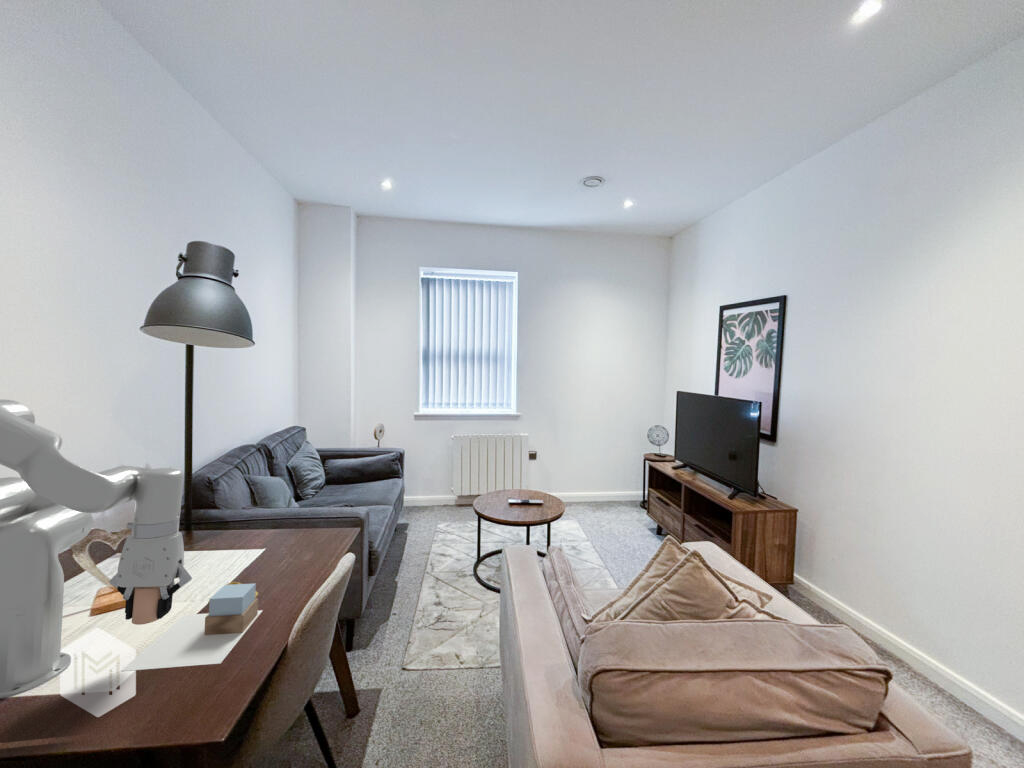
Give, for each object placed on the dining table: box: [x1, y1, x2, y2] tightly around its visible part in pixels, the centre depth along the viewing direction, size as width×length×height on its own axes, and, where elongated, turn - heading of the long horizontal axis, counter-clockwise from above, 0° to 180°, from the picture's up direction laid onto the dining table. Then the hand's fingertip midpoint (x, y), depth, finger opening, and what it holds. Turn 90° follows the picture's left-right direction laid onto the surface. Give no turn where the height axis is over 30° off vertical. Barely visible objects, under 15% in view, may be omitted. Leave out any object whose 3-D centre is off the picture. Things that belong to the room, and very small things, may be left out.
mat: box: [120, 609, 264, 672], centre depth 94 cm, size 18×21×1 cm
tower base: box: [204, 597, 259, 635], centre depth 99 cm, size 8×8×4 cm
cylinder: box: [131, 587, 161, 625], centre depth 86 cm, size 5×5×7 cm
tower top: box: [208, 583, 257, 616], centre depth 99 cm, size 7×7×4 cm
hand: (148, 614), depth 86 cm, fingers closed on cylinder, 4 cm apart
